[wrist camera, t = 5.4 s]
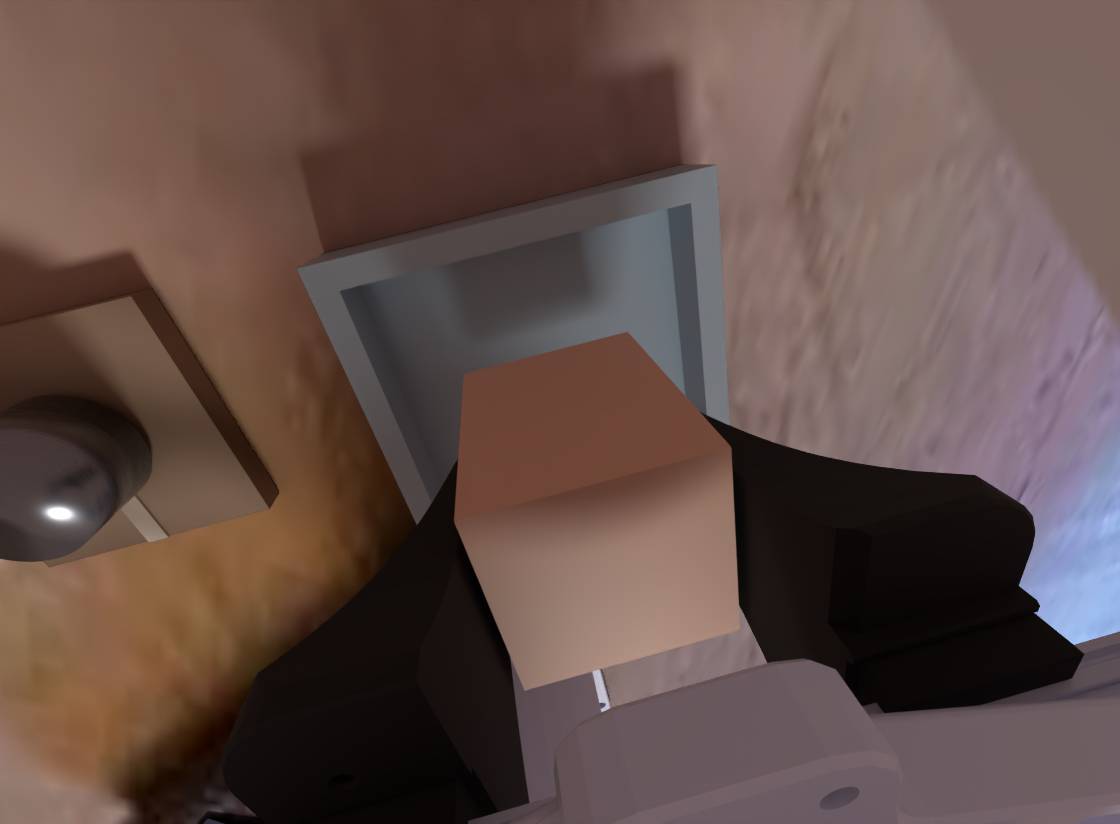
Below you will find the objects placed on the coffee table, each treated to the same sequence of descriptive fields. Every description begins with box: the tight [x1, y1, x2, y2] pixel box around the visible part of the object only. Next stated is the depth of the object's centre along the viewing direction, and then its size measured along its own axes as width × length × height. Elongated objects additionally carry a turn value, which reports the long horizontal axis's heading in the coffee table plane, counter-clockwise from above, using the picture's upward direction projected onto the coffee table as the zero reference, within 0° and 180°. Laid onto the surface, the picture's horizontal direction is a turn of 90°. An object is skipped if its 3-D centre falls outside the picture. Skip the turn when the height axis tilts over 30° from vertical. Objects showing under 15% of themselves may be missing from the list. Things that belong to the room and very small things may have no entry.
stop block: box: [454, 332, 740, 691], centre depth 11 cm, size 4×4×6 cm
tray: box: [297, 164, 729, 524], centre depth 17 cm, size 12×12×2 cm
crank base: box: [0, 288, 279, 567], centre depth 16 cm, size 8×8×1 cm
